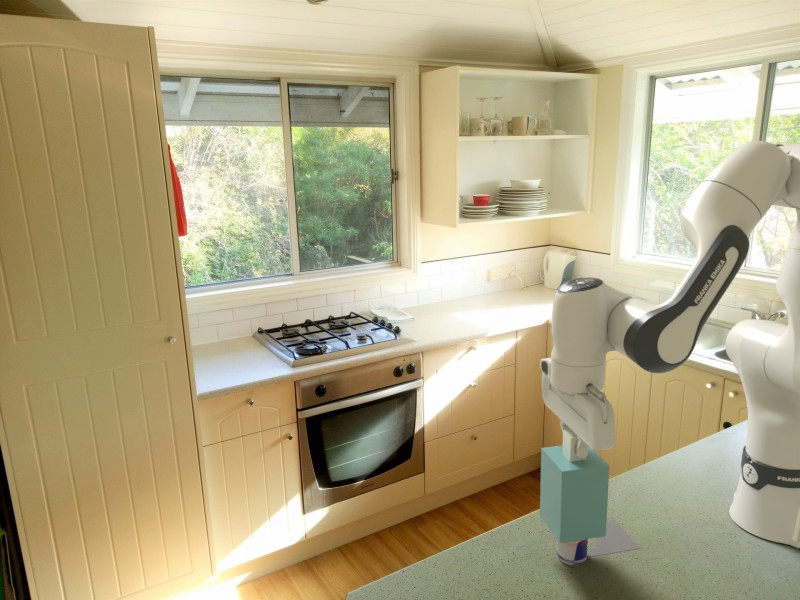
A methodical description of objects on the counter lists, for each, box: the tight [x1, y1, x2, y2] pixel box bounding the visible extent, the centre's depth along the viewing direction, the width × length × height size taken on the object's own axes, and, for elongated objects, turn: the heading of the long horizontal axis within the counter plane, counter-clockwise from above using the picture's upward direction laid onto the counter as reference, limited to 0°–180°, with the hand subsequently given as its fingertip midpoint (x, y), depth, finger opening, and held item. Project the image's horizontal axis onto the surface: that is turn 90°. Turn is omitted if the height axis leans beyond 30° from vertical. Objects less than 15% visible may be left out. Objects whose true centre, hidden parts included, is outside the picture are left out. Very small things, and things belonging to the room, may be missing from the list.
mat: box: [587, 517, 641, 558], centre depth 114 cm, size 10×10×1 cm
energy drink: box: [555, 539, 588, 566], centre depth 107 cm, size 5×5×12 cm
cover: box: [539, 429, 610, 543], centre depth 105 cm, size 8×8×18 cm
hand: (574, 449), depth 104 cm, fingers closed on cover, 3 cm apart
